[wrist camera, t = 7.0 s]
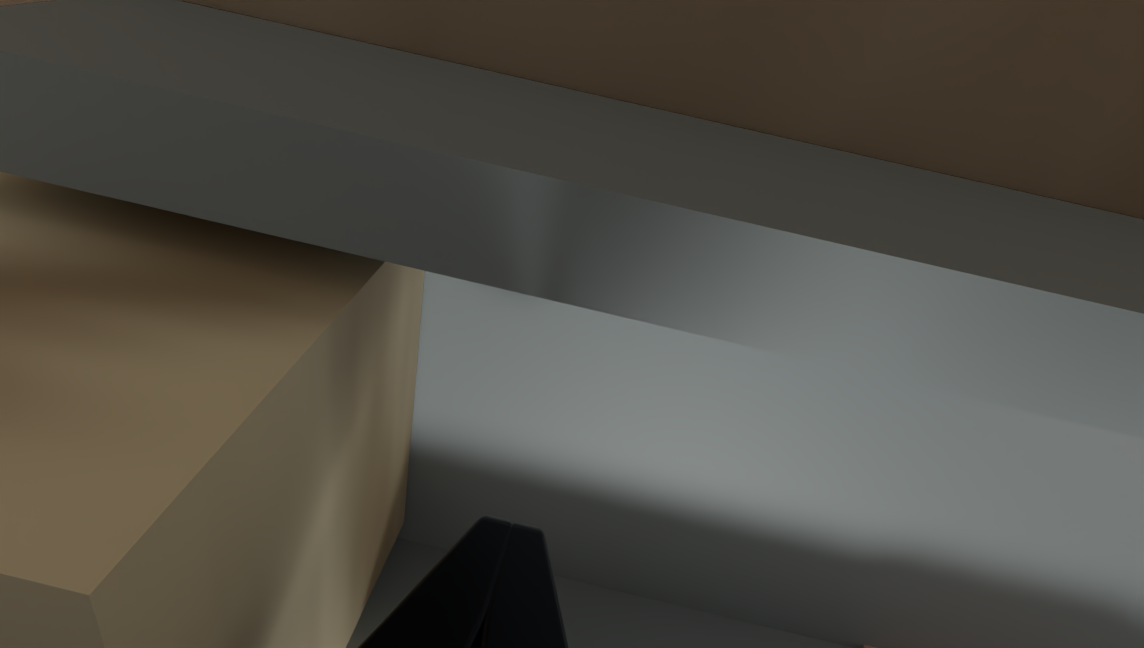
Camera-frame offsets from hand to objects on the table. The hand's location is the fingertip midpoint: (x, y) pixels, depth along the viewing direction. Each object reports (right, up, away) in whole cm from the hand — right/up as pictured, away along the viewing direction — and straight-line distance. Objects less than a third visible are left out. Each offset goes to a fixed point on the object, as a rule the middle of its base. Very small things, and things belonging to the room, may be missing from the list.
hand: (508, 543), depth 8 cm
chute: (+4, +1, +3) cm, 5 cm away
